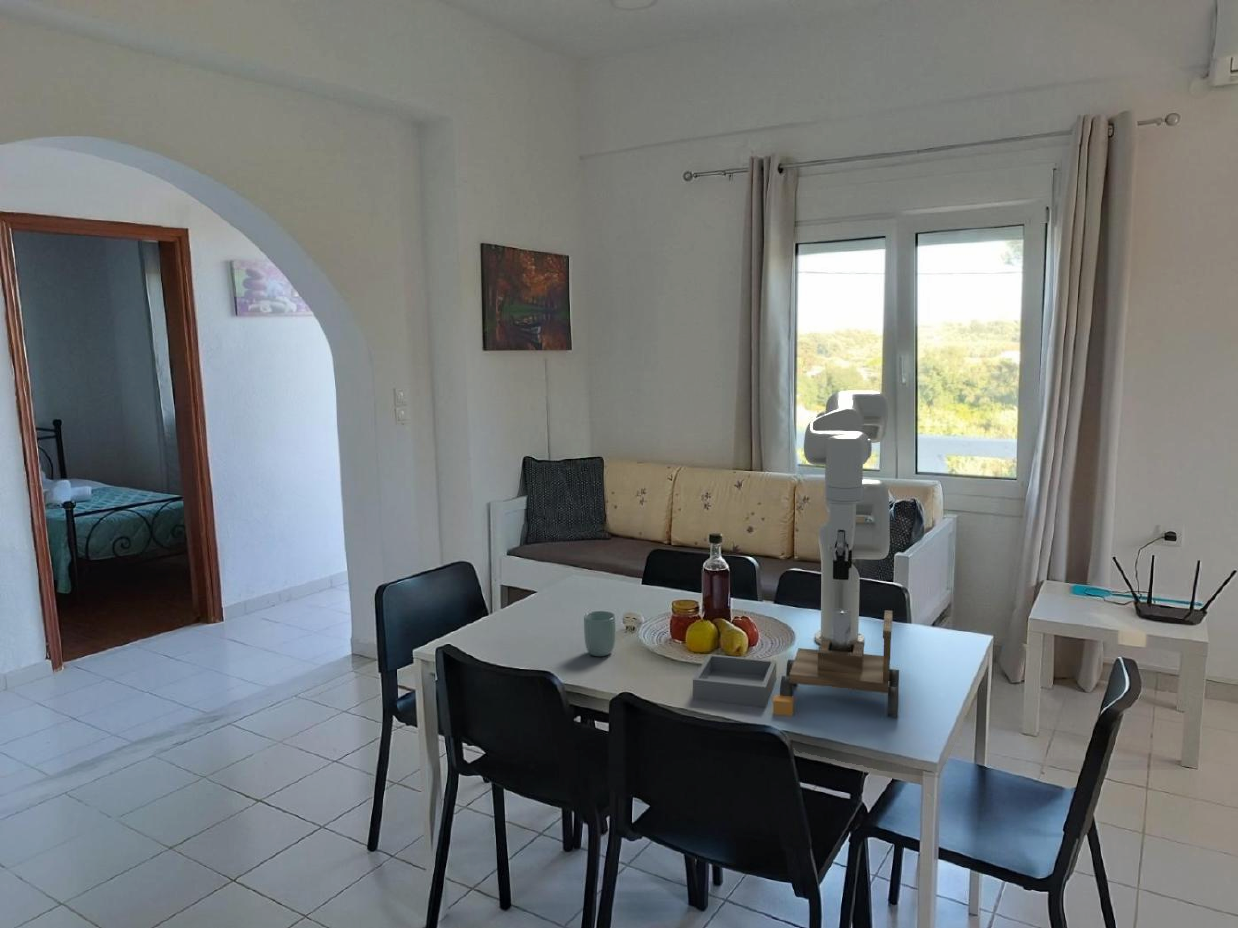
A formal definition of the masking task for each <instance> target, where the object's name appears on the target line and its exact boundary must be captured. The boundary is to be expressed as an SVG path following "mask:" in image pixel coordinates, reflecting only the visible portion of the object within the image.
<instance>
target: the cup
mask: <svg viewBox="0 0 1238 928" xmlns="http://www.w3.org/2000/svg"><path fill="white" fill-rule="evenodd" d="M616 627H617V624H616V615H615V613H613V612H612V611H605V610H596V611H591V612H590V611H589V612H588V613H586V614H585V615H584V617H583V634H584V643H585V648H586V650H587V652H588V653H589V654H590V655H591V656H595V657H606V656H608V655H610V654H611V653H612V652H613V651H614V649H615V644H616V636H617V634H616V633H617V632H616V630H617V629H616Z"/></svg>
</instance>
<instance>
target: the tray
mask: <svg viewBox="0 0 1238 928" xmlns="http://www.w3.org/2000/svg"><path fill="white" fill-rule="evenodd" d="M776 681H777V660H772V659H765V658H763V659H761V658H753V657H752V658H751V657H742V656H732V655H731V656H730V655H723V654H722V655H721V654H712V653H711V654H709V653H708V654H707V656H706V658H705V659H704V661H703V662H702V664H701V666H700V668H699V669H698V670H697V672H696V673H695V675H694V677H693V678H692V699H693V700H698V701H707V702H715V703H716V702H718V703H725V704H733V705H734V704H736V705H743V706H744V705H745V706H751V707H762V708H767V705H768V702H769V700H770V697H771V694H772V692H773V689H774V687H775V684H776Z"/></svg>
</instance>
